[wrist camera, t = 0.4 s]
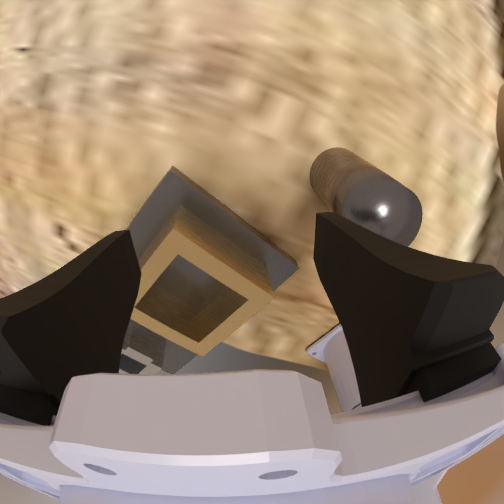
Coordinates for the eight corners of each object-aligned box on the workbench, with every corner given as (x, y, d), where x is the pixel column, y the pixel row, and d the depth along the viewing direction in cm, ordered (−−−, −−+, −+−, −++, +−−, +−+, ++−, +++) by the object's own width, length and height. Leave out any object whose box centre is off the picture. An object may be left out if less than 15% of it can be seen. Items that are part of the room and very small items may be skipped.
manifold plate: (296, 260, 24) (309, 297, 20) (173, 367, 30) (170, 401, 26) (172, 165, 19) (159, 187, 15) (75, 314, 25) (60, 347, 21)
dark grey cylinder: (370, 174, 20) (432, 222, 13) (334, 210, 21) (380, 272, 15) (338, 136, 18) (398, 169, 12) (298, 175, 20) (338, 228, 13)
